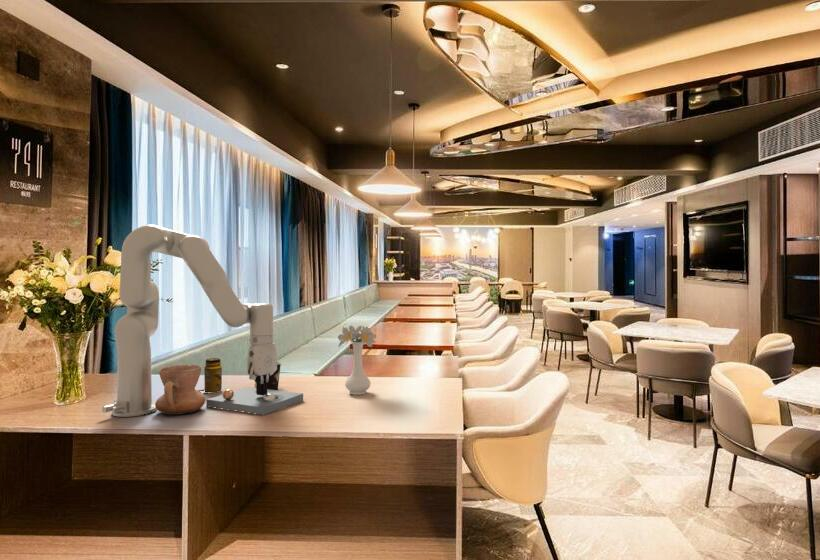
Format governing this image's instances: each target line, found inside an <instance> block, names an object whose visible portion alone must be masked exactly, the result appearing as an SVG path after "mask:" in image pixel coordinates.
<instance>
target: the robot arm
mask: <svg viewBox="0 0 820 560" xmlns="http://www.w3.org/2000/svg"><path fill="white" fill-rule="evenodd" d="M153 253H158V254H164V255H168V256H170V257H175V258H179V259H182V260H183V261H184V263H185V264H186V265H187V267H188V268H189V270H190V272H192V275H194V277H195V279H196V280H197V281H198V283H199V285H200V286H201V288H202V289H203V292H204V293H205V294H206V296H207V297H208V299H209V301H210V303H211V304H212V306H213V307H214V310H215V311H216V313H218V315H219V316H220V318H221V320H223V322H224V323H225V324H226V325H227V326H229V327H231V328H240V327H242V326H243V325H246V324H249V340H248V341H249V345H248V351H247V359H246V360H247V363H246V364H247V365H246V368H247V375H249V376H248V380H252V381H254V384H255V383H256V394H257V395H266V394H267V382H268V381H269V377H270V376H271V375H272V374H274V372H275V371H276V370H277V362H278V359H277V358H278V356H277V349H276V345H275V342H274V306H273V305H272V303H267V302H262V303H261V302H260V303H245V302H241V301H240V299H239V298H238V297H237V295H236V293H235V291H234V290H233V289H232V287H231V284H230V282H229V280H228V276H227V273H226V272H225V270H224V268H223V267H222V266H221V264H220V262H219V261H218V260H217V259H216V257H215V255H214V254H213V253H212V250H211V249H210V245H209V243H208V241H207V240H206V239H205V238H203V237H201V236H198V235H194V234H192V235H191V234H187V233H183V232H179V231H176V230H172V229H168V228H165V227H163V226H161V225H160V226H159V225H158V224H157V225H156V224H145V225H142V226H140V227H137V228H135V229H133V230H132V231H131V232H130V233H128V235H127V236H126V237H125V239H124V241H123V244H122V247H121V253H120V254H121V255H120V274H119V275H120V276H119V277H120V278H119V295H118V296H119V300H120V302H121V303H122V305H124V306H125V307H127V313H126V314H124V315H123V316H122V317H120V318H119V319H118V320H117V322H116V324H115V327H114V338H115V339H114V340H115V345H116V346H115V347H116V366H117V371H116V376H117V377H116V378H117V381H116V382H117V383H116V384H117V385H116V386H117V399H114V400H113V401H114V402H113V403H112V404H109V405H104V406H102V408H101V410H102V413H108V412H111V414H112V416H114V417H118V418H129V417H132V418H133V417H139V416H144V414H145V415H149V414H152V413H154V412H156V411H158V410H157V409H156V406H155V403H152V402H153V401H152V399H153V398H152V397H153V396H152V393H153V392H152V389H153V388H152V387H153V384H152V382H153V381H152V379H153V378H152V347H151V346H152V345H151V342H150V341H151V340H150V337H152V336H153V335H154V334H155V333H156V332H157V330H158V327H159V313H160V311H159V307H160V305H159V304H160V293H159V288H158V286H157V284H156V283H155V282H154V281H153V280H152V278H151V276H152V275H151V274H152V262H151V261H152V260H151V256H152V254H153ZM155 410H156V411H155ZM151 412H152V413H151ZM148 413H149V414H148Z"/></svg>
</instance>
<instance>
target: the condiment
mask: <svg viewBox="0 0 820 560" xmlns="http://www.w3.org/2000/svg"><path fill="white" fill-rule="evenodd" d="M221 364H222V363H221V359H220V358H219V357H218V358H216V357H213V358H212V357H211V358H207V359H205V364H204V365H205V366H204V371H203V372H204V389H196V390H197V391H198V392H200V391H204V390H205V392H217V391H221V390H223V389H222V384H223V380H222V379H223V378H222V375H223V374H222V371H223V370H222V369H223V368H222V365H221ZM200 393H201V392H200ZM217 393H218V392H217Z"/></svg>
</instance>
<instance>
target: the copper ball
mask: <svg viewBox="0 0 820 560" xmlns="http://www.w3.org/2000/svg"><path fill="white" fill-rule="evenodd" d="M224 390H225V391H222V395H223V398H224V399H225V400H230V399H232V398H233V396H234V390H233V389H230V388H228V389H224Z"/></svg>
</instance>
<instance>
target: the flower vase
mask: <svg viewBox="0 0 820 560" xmlns="http://www.w3.org/2000/svg"><path fill="white" fill-rule="evenodd" d="M341 329H342V334H341V333H340V334H338V336H337V339H338V341H340V342H339V343H338V347H341V346H342V347H344V346H345V345H346V344H347V343H348V342H349V341H350V343H351V344H352V348H353V365H352V371H351V373H350V375H349V377H347V379H346V380H345V384H344V387H345V389H347V391H348V393H349V394H350V395H355V396H361V395H365V394H367V391H368V390H369V388H370V387H371V381H370V378H369V377H368V376H367V375H366V373H365V371H364V368H363V347H364V345H365V344H366V345H367V347H368V348H372V347H373V344H375V343H376V342H375V340H374V339H376V338H377V334H376V333H375V334H374V333H373V332H372V331H371V329H370V327H368V326H364V325H359V326H358V327H356V328H355V327H354V326H353V325H349V326H348V327H345V326H342V328H341Z"/></svg>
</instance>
